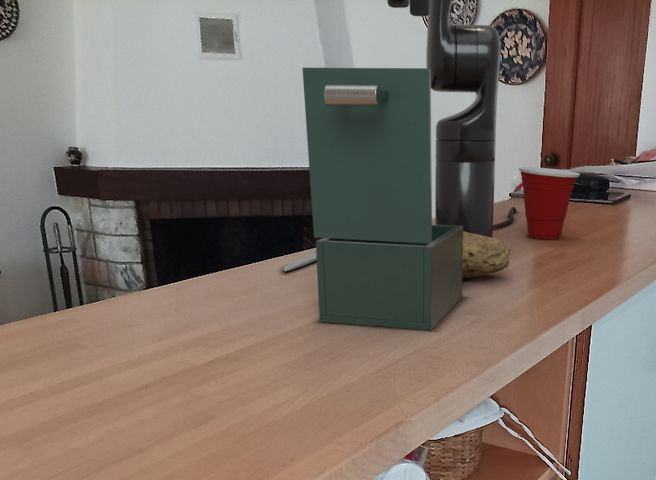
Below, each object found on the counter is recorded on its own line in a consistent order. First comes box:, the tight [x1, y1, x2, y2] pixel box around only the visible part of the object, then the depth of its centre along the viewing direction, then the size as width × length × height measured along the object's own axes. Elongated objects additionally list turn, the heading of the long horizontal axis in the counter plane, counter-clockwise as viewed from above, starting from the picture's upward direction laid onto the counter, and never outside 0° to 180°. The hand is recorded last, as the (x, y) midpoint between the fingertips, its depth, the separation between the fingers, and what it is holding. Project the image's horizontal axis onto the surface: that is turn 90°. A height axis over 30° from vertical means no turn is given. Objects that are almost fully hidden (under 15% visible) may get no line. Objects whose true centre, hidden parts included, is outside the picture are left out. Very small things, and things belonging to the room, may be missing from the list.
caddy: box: [315, 223, 463, 331], centre depth 90 cm, size 16×13×9 cm
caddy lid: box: [302, 67, 433, 244], centre depth 75 cm, size 16×13×5 cm
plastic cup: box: [518, 166, 581, 240], centre depth 140 cm, size 11×11×12 cm
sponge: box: [462, 231, 511, 279], centre depth 107 cm, size 13×8×20 cm
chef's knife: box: [283, 252, 317, 272], centre depth 117 cm, size 19×1×3 cm
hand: (409, 11), depth 86 cm, fingers open, 8 cm apart
